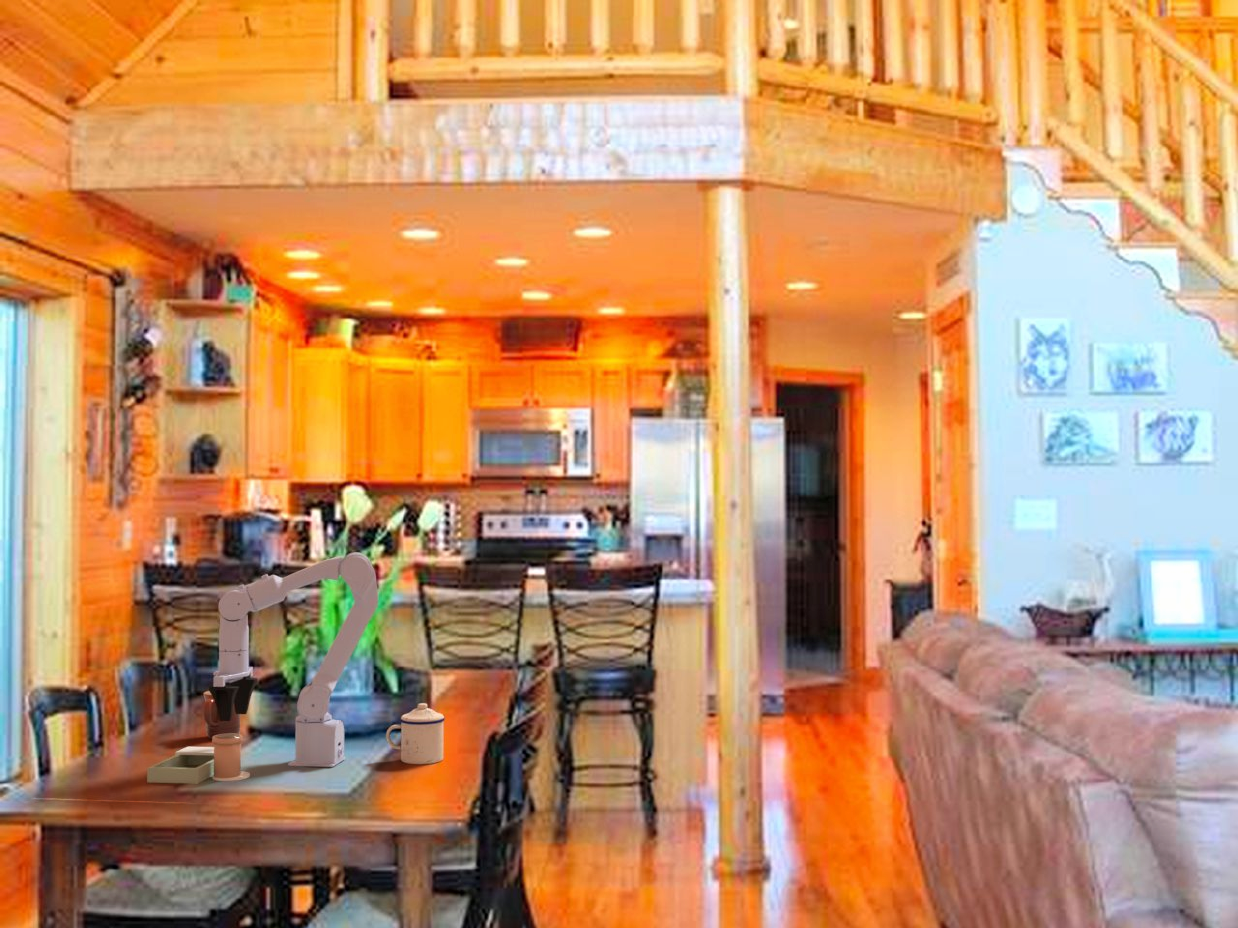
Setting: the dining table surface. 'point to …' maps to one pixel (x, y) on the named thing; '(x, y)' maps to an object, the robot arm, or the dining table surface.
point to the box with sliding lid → (184, 766)
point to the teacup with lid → (420, 736)
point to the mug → (213, 721)
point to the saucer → (242, 776)
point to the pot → (227, 755)
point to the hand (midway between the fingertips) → (233, 717)
